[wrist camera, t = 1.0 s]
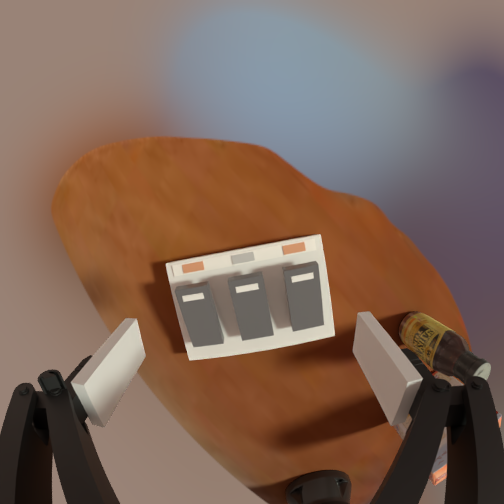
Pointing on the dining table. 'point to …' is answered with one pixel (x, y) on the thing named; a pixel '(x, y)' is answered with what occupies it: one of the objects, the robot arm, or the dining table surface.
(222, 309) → the switch panel
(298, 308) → the switch
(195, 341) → the switch
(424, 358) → the sauce bottle
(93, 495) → the robot arm
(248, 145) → the dining table surface
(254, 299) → the switch middle
